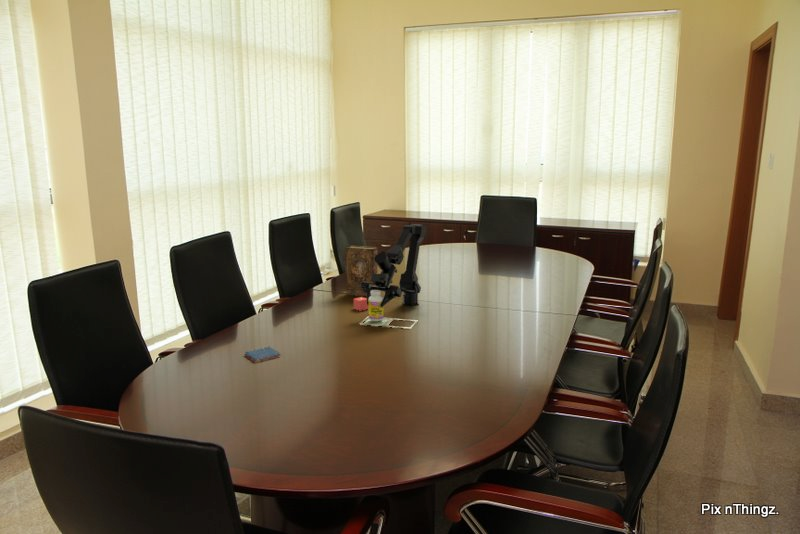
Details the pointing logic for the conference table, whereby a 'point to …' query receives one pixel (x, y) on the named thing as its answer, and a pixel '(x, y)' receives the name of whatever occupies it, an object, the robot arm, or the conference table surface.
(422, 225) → the robot arm
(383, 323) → the silver picture frame
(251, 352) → the woven mat
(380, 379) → the conference table surface
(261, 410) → the conference table surface
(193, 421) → the conference table surface
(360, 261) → the book
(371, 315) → the supplement bottle
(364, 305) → the red die
